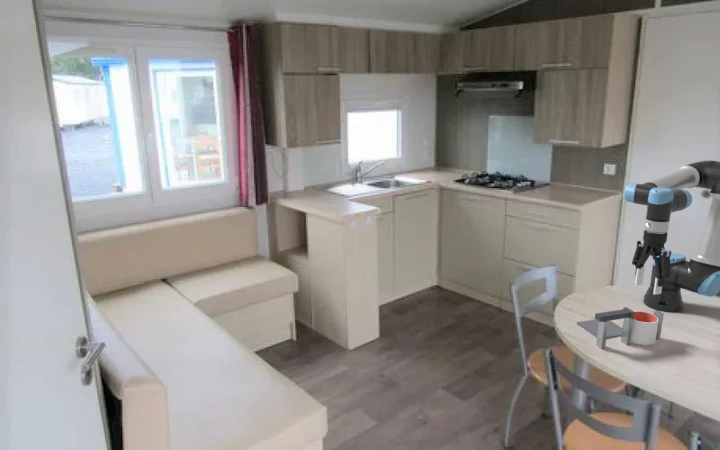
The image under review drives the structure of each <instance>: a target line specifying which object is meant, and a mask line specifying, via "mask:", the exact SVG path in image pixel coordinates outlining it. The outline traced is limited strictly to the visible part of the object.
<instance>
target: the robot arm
mask: <svg viewBox="0 0 720 450" xmlns="http://www.w3.org/2000/svg"><path fill="white" fill-rule="evenodd" d="M692 188H700V189H701V188H702V189H705V190H706V189H707V190H710V191H709V195H710V196H711V198H712V200H711V204H710V207H709V211H708V214H707V217H706V221H705V223H704V227H703V230H702V234H701V237H700V241H699V244H698V247H697V249H696V250H697V251H696V254H694V256H692V257H690V258H689V261H688V260H687V258H686V255H684V254H680V253H675V252H674V253H673V252H672V251H671V250H667V249H665V244H666V243H667V241H668V236H669V235H668V234H669V233H668V232H669V228H670V219H671V215H672V213H675V212H680V211H683V210H686V209H687V208H689V207H690V206H691V204H692V203H693V196H692V194H691V192H690V191H688V190H686V189H692ZM623 193H624V194H623V198H624V200H625V201H626V202H628V203H632V204H634V205H635V204H637V205H640V206H647V207H646V214H645V216H646V217H645V222H644V230H643V235H642V236H643V237H642V239H643V240H637V242H636V248H635V251H634V255H633V258H632V262H631V264H632V266H633V265H634V266H635V278H634V279H635V281H634V286H643V281H644V276H645V275H644V273H645V264H646V262H647V261H648V260H649V257H650V256H651V257H652V260H653V262H652V265H651V266H652V269H651V274H650V275H651V276H650V283H649V286H648V288H647V290H646V291H645V294H644V295H643V298H642V299H643V300H642V302H643V304H644V305H645V306H647V307H649V308H651V309H654V310H658V311H660V312H661V311H662V312H669V313H670V312H673V313H674V312H679V311H681V310H682V309H683V307H684V302H683V297H682V292H681V289H682V290H683V289H684V290H686V291H689V292H692V293H695V294H698V295H700V296H701V295H702V296H705V297H709V298H710V297H714V296H716V295H717V294H718V293H720V161H719V160H718V161H717V160H701V161H697V162H692V163H688V164H686V165H683V166H680V167H679V168H678V169H677V170H676V171H674V172H671V173H669V174H666V175H663V176H660V177H658V178H654V179H653V180H650V181H647V182H644V183H636V182H635V183H633V182H631V183H629V184H628V185H626V187H625V189H624V192H623Z"/></svg>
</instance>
